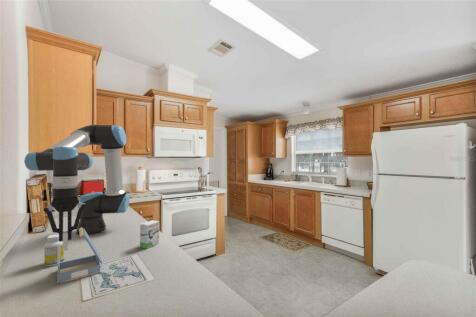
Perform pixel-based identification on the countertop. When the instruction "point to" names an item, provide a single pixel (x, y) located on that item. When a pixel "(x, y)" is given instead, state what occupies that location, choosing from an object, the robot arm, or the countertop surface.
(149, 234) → the ink box
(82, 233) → the lid
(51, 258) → the pill bottle
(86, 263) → the box
